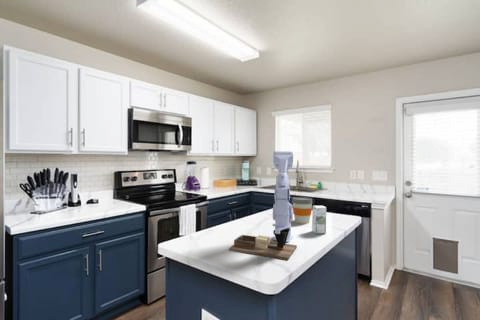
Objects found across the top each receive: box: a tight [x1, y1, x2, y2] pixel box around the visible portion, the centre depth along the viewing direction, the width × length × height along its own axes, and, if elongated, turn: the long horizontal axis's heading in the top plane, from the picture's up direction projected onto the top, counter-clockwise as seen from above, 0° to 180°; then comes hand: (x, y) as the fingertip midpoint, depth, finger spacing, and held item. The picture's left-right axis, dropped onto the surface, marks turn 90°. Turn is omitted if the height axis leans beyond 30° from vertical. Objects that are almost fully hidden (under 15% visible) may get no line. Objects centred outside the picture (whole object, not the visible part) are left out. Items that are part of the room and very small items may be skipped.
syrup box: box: [311, 205, 327, 235], centre depth 141 cm, size 6×6×14 cm
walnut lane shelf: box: [229, 234, 298, 261], centre depth 115 cm, size 16×26×4 cm, turn 66°
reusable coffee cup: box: [291, 196, 313, 224], centre depth 165 cm, size 13×13×15 cm
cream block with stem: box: [255, 235, 284, 250], centre depth 114 cm, size 5×12×5 cm, turn 66°
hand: (281, 246), depth 112 cm, fingers closed on cream block with stem, 3 cm apart
